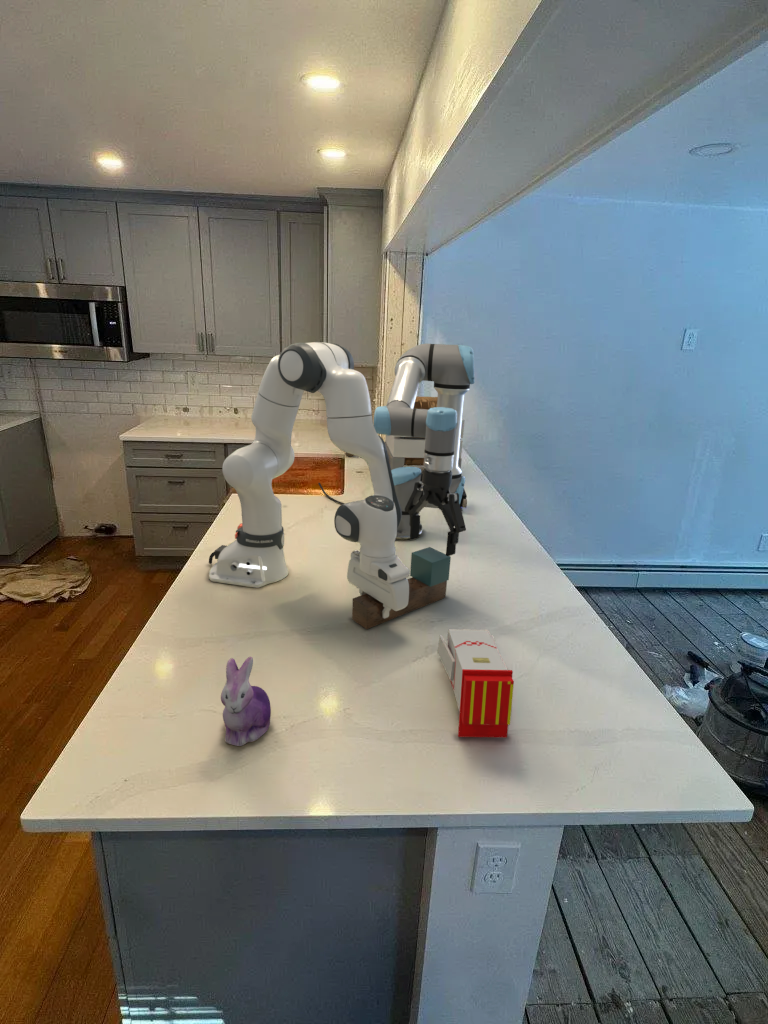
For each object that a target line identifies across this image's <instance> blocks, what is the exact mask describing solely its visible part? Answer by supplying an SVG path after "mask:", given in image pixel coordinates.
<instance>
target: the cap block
mask: <svg viewBox="0 0 768 1024" xmlns="http://www.w3.org/2000/svg"><path fill="white" fill-rule="evenodd" d="M451 559H452V558H451V556H446V553H444V552H442V551H440V550H438V549H436V548H433V547H431V546H428V547H425V548H422V549H419V550H416V551H415V550H414V551H412V552H411V556H410V568H409V571H410V574H409V576H410V578H412V577H413V578H415V579H417V580H419V581H421V582H422V583H424V584H426V585H428V586H430V587H431V586H434V585H437V584H439V583H442V582H445V581H447V582H448V581H449V580H450V568H451Z"/></svg>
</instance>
